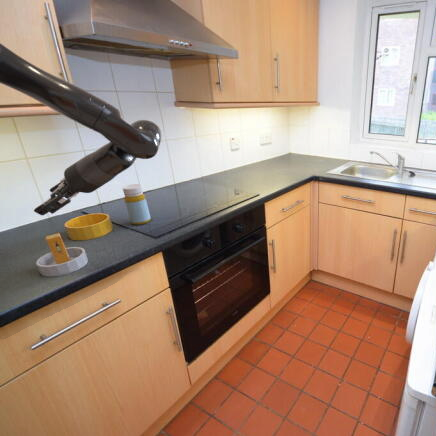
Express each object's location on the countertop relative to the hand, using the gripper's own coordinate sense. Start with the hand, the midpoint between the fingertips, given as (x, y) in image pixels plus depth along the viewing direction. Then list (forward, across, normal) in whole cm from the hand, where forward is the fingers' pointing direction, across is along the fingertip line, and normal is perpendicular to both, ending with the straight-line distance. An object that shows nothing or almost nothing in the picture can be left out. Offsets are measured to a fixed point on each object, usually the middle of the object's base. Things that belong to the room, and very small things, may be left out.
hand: (46, 202), depth 77 cm
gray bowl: (+17, +1, +17) cm, 24 cm away
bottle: (+11, -28, +32) cm, 44 cm away
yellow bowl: (+23, -22, +22) cm, 39 cm away
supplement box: (+16, +1, +17) cm, 24 cm away
